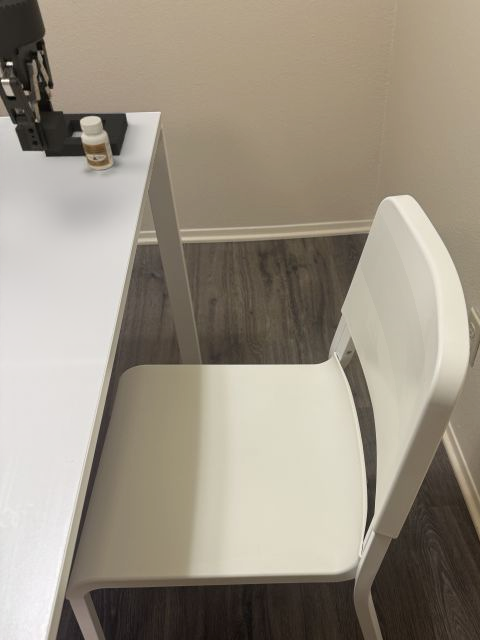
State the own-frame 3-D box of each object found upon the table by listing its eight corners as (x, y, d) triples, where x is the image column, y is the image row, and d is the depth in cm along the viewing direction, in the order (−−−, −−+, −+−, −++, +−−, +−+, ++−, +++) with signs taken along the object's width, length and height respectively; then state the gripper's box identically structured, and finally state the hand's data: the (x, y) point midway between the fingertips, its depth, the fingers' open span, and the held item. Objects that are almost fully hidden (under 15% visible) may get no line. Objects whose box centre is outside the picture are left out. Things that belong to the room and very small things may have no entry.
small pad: (22, 151, 80) (14, 128, 77) (31, 133, 83) (24, 111, 81) (61, 151, 80) (54, 128, 78) (68, 133, 83) (62, 110, 81)
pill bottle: (86, 170, 105) (74, 126, 99) (91, 158, 108) (79, 114, 102) (111, 170, 105) (101, 126, 100) (116, 158, 108) (106, 114, 102)
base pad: (45, 156, 108) (42, 144, 107) (59, 125, 116) (55, 113, 114) (119, 155, 109) (116, 143, 107) (128, 124, 117) (125, 112, 115)
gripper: (-16, -28, 73) (30, 115, 86) (-57, 13, 63) (1, 167, 76) (47, -28, 73) (84, 115, 86) (16, 14, 64) (62, 166, 77)
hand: (45, 138), depth 81 cm, fingers closed on small pad, 5 cm apart
